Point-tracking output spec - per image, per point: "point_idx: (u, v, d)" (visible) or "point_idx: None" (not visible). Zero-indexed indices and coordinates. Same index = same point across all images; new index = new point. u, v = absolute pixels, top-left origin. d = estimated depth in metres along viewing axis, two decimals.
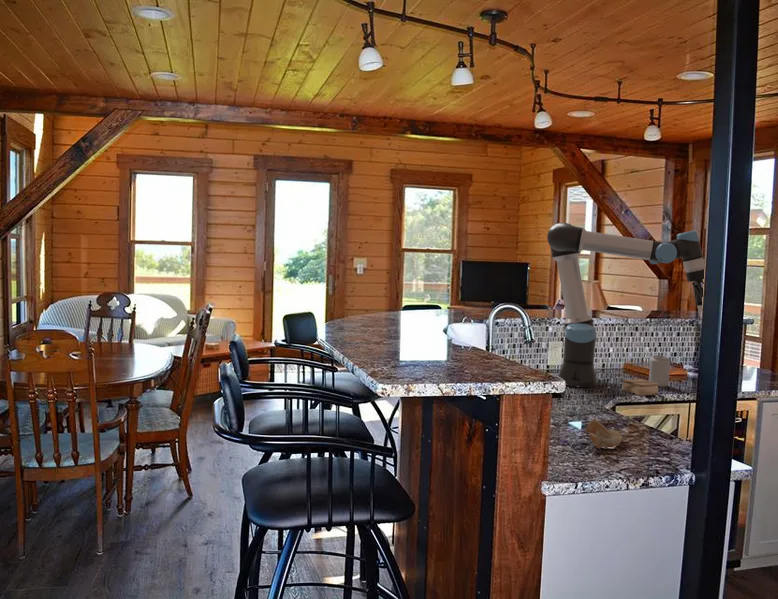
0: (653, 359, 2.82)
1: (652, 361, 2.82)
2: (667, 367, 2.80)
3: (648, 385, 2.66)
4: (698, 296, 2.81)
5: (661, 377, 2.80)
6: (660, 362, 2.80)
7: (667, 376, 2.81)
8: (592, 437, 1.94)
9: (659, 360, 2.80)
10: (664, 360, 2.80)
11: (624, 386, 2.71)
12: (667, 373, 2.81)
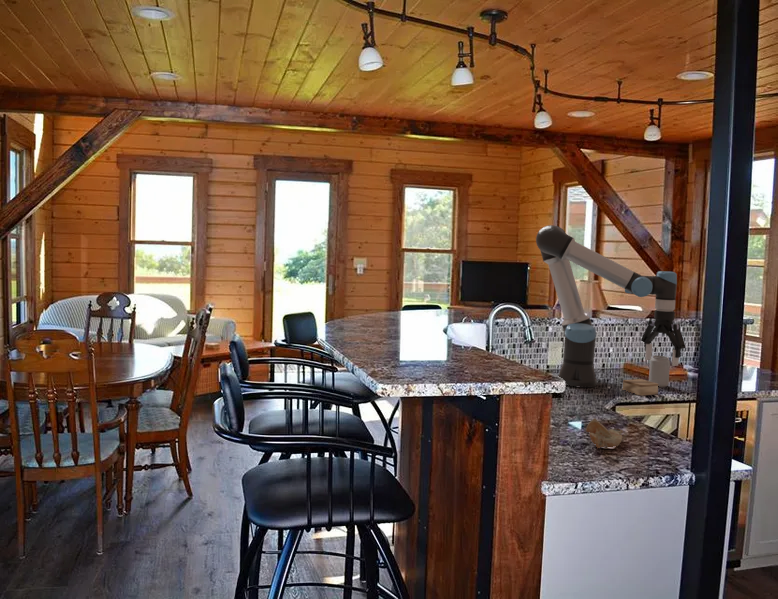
0: (653, 359, 2.82)
1: (652, 361, 2.82)
2: (667, 367, 2.80)
3: (648, 385, 2.66)
4: (653, 335, 2.86)
5: (661, 377, 2.80)
6: (660, 362, 2.80)
7: (667, 376, 2.81)
8: (592, 437, 1.94)
9: (659, 360, 2.80)
10: (664, 360, 2.80)
11: (624, 386, 2.71)
12: (667, 373, 2.81)
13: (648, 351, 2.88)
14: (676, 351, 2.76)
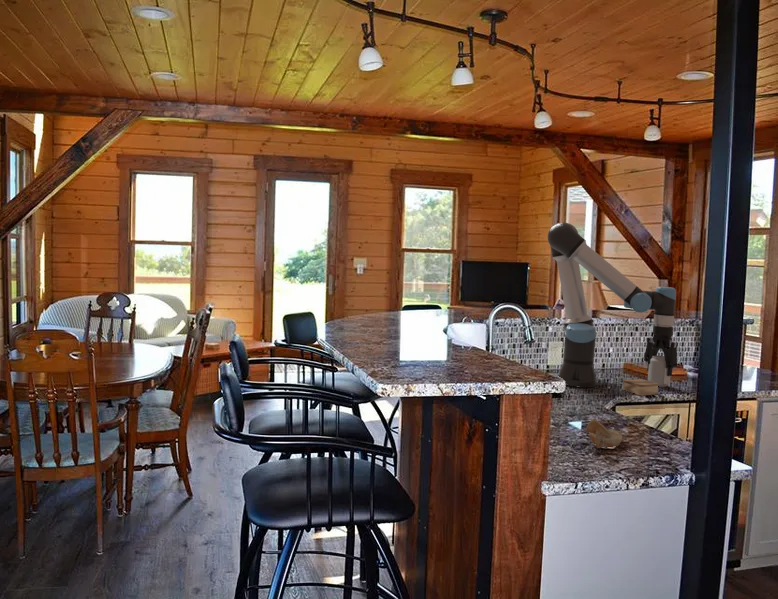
0: (653, 359, 2.82)
1: (652, 361, 2.82)
2: None
3: (648, 385, 2.66)
4: (654, 352, 2.85)
5: (661, 377, 2.80)
6: (660, 362, 2.80)
7: None
8: (592, 437, 1.94)
9: (659, 360, 2.80)
10: (664, 359, 2.80)
11: (624, 386, 2.71)
12: None
13: None
14: (668, 370, 2.79)
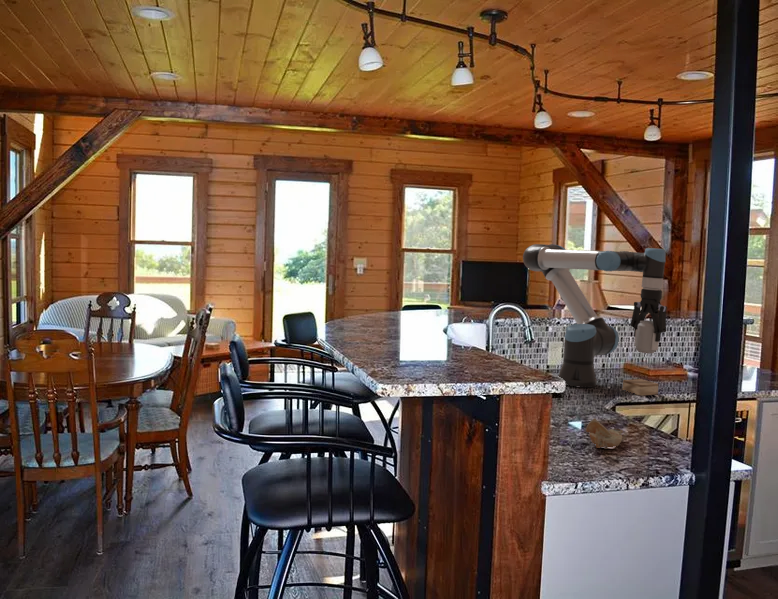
0: (641, 324, 2.70)
1: (640, 326, 2.70)
2: None
3: (648, 385, 2.66)
4: (642, 317, 2.72)
5: (649, 343, 2.68)
6: (648, 327, 2.67)
7: None
8: (592, 437, 1.94)
9: (647, 325, 2.68)
10: (652, 324, 2.68)
11: (624, 386, 2.71)
12: None
13: None
14: (657, 335, 2.66)
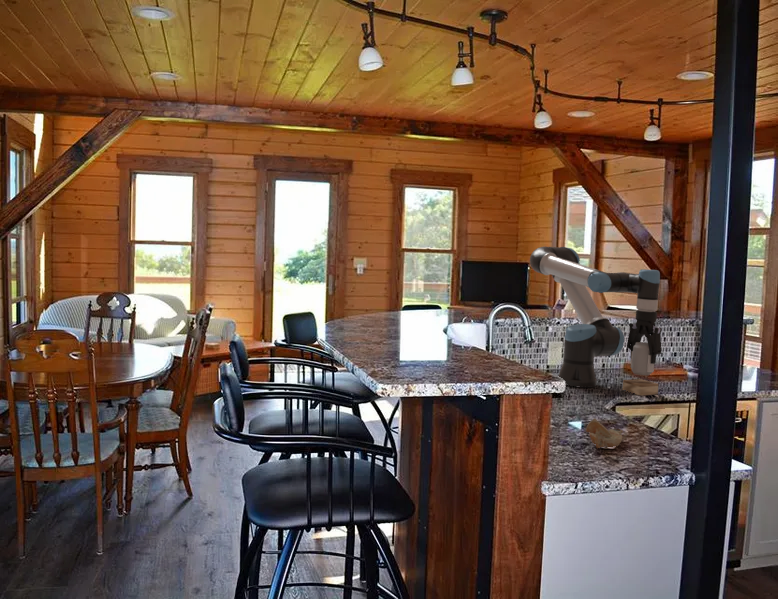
0: (636, 346, 2.68)
1: (635, 348, 2.68)
2: None
3: (648, 385, 2.66)
4: (637, 339, 2.70)
5: (644, 365, 2.65)
6: (643, 349, 2.65)
7: None
8: (592, 437, 1.94)
9: (642, 347, 2.66)
10: (648, 346, 2.65)
11: (624, 386, 2.71)
12: None
13: None
14: (652, 357, 2.64)
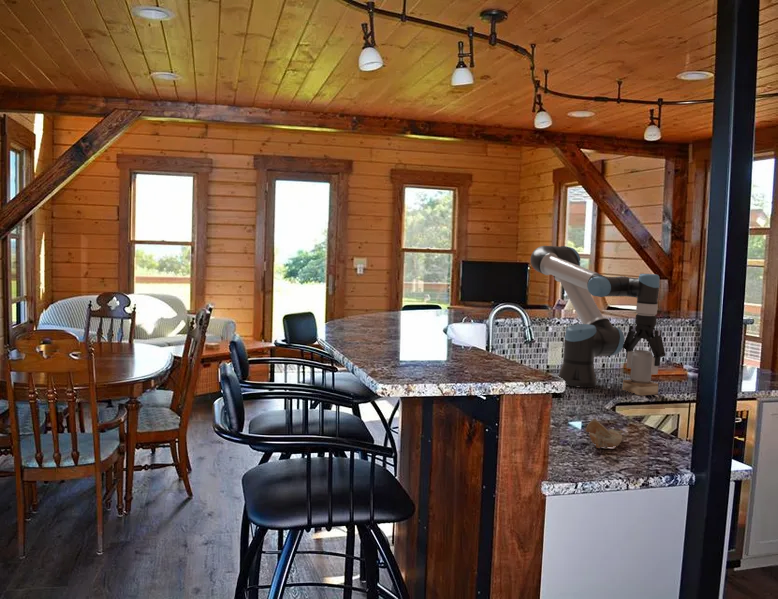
0: (635, 354, 2.68)
1: (634, 356, 2.68)
2: (649, 362, 2.66)
3: (648, 385, 2.66)
4: (635, 341, 2.71)
5: (643, 373, 2.66)
6: (642, 357, 2.66)
7: (649, 371, 2.67)
8: (592, 437, 1.94)
9: (641, 355, 2.66)
10: (646, 354, 2.66)
11: (624, 386, 2.71)
12: (649, 368, 2.66)
13: (630, 359, 2.74)
14: (656, 359, 2.62)
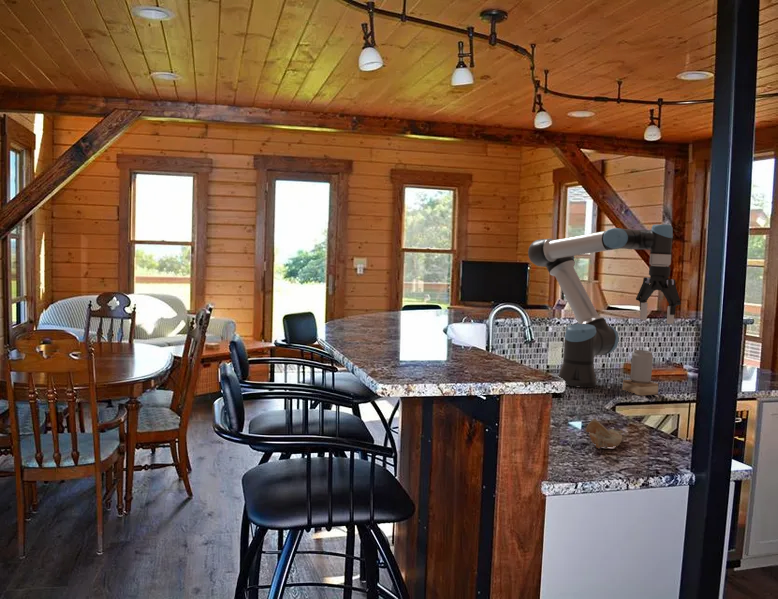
0: (635, 354, 2.68)
1: (634, 356, 2.68)
2: (649, 362, 2.66)
3: (648, 385, 2.66)
4: (648, 293, 2.71)
5: (643, 373, 2.66)
6: (642, 357, 2.66)
7: (649, 371, 2.67)
8: (592, 437, 1.94)
9: (641, 355, 2.66)
10: (646, 354, 2.66)
11: (624, 386, 2.71)
12: (649, 368, 2.66)
13: (643, 310, 2.74)
14: (671, 308, 2.60)
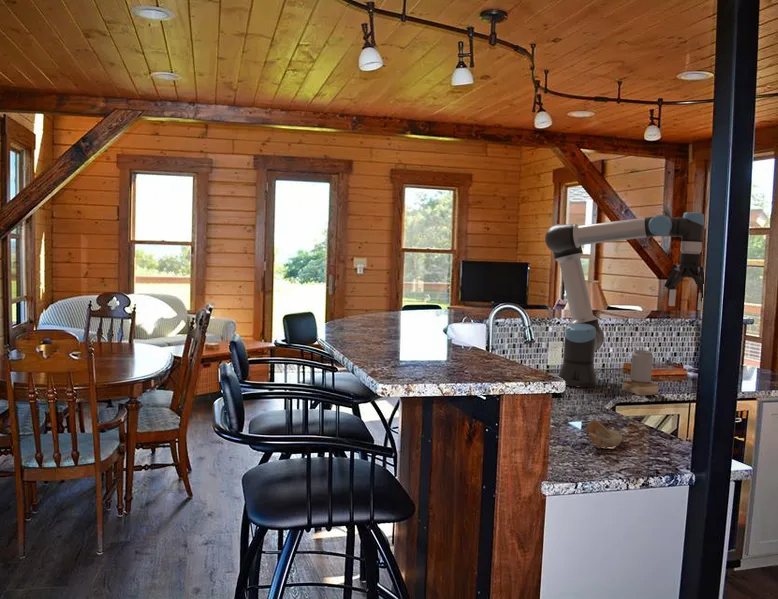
0: (635, 354, 2.68)
1: (634, 356, 2.68)
2: (649, 362, 2.66)
3: (648, 385, 2.66)
4: (678, 280, 2.75)
5: (643, 373, 2.66)
6: (642, 357, 2.66)
7: (649, 371, 2.67)
8: (592, 437, 1.94)
9: (641, 355, 2.66)
10: (646, 354, 2.66)
11: (624, 386, 2.71)
12: (649, 368, 2.66)
13: (672, 297, 2.77)
14: None
